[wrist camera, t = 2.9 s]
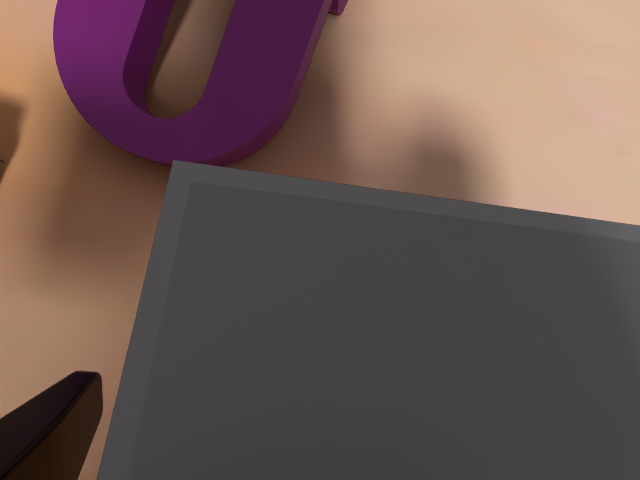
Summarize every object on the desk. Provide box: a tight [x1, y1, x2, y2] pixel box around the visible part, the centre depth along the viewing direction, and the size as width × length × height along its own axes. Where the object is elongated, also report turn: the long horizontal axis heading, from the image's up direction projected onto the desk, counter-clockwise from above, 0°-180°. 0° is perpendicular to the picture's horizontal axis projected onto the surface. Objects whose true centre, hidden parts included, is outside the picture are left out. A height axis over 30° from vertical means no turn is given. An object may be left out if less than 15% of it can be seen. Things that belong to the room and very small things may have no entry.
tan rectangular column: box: [97, 160, 640, 480], centre depth 9 cm, size 6×6×12 cm
